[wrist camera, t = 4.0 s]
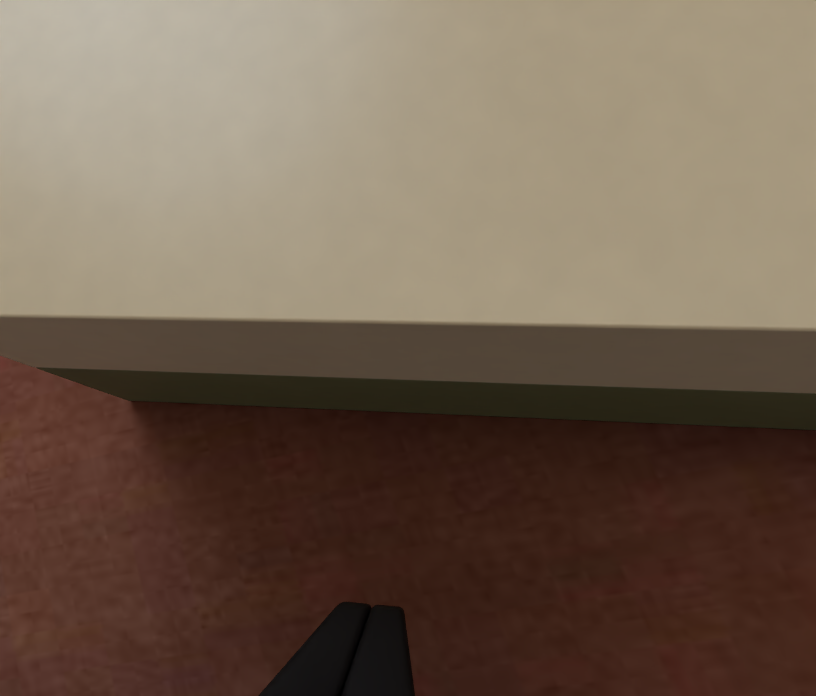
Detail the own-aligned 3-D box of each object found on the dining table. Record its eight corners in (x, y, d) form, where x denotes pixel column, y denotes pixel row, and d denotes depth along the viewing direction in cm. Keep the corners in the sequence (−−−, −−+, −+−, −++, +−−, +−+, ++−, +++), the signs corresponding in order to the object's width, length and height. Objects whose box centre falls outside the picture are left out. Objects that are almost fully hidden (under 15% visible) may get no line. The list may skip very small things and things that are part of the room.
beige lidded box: (874, 433, 16) (1173, 337, 9) (127, 401, 20) (-119, 314, 12) (816, -93, 21) (982, -465, 13) (210, -38, 24) (64, -300, 17)
